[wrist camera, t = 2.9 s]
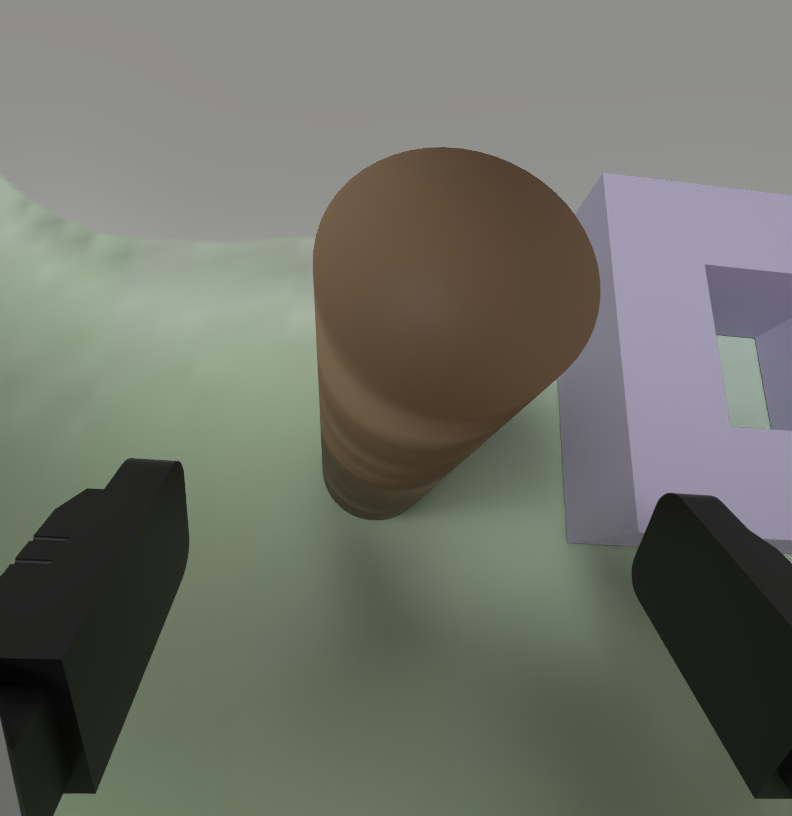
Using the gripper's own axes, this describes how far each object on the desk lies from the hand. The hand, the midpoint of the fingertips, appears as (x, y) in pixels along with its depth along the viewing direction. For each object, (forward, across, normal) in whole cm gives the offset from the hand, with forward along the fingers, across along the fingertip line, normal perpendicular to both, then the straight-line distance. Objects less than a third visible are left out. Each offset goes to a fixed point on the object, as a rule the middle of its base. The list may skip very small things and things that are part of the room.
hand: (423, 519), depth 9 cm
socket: (+13, -14, +3) cm, 19 cm away
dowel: (+10, 0, +6) cm, 12 cm away
